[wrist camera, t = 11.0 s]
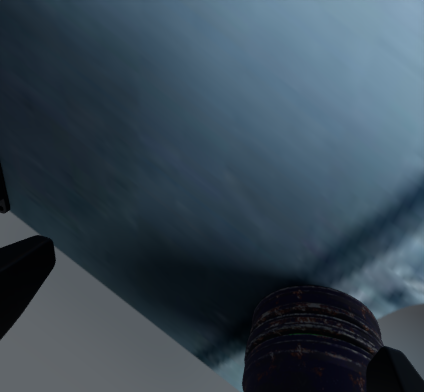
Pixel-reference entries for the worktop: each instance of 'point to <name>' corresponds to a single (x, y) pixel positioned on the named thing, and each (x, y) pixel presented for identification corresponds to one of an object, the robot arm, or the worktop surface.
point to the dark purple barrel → (310, 342)
